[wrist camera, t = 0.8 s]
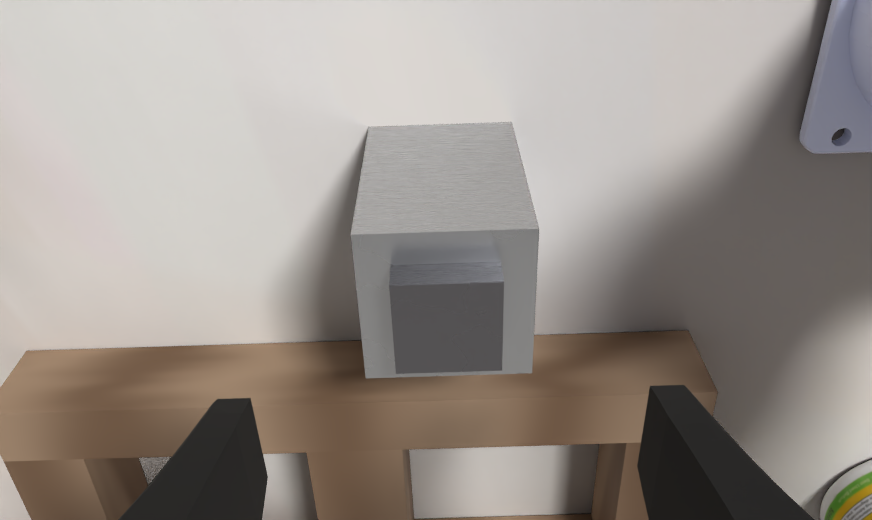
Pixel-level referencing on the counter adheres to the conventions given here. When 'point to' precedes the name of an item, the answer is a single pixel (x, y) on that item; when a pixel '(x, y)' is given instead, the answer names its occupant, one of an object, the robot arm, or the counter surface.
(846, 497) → the supplement bottle
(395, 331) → the plug
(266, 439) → the socket board
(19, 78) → the counter surface
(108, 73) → the counter surface
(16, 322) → the counter surface
